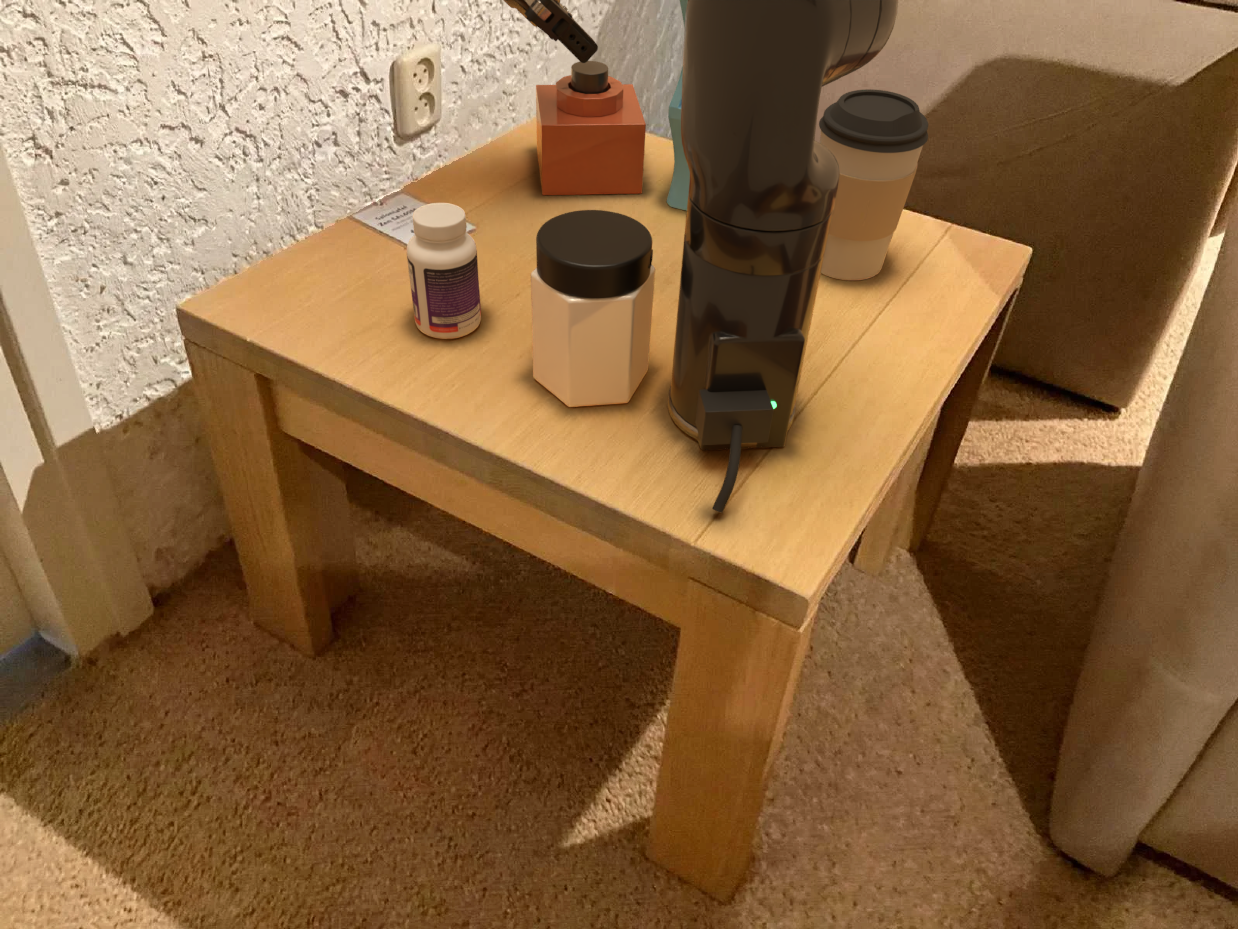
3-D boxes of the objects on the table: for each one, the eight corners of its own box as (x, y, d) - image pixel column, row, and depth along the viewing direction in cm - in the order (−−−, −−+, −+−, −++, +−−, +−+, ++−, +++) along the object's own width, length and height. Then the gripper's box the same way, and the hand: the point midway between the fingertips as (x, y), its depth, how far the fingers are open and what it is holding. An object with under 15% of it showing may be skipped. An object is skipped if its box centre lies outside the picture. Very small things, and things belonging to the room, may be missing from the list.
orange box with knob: (641, 193, 100) (647, 105, 94) (542, 195, 99) (541, 106, 93) (629, 150, 108) (633, 66, 102) (536, 151, 107) (535, 66, 101)
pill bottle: (494, 317, 83) (489, 210, 76) (453, 348, 79) (443, 238, 73) (443, 297, 85) (434, 190, 78) (401, 326, 81) (387, 217, 75)
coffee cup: (775, 256, 92) (801, 94, 82) (837, 227, 97) (869, 70, 87) (853, 298, 87) (890, 132, 77) (914, 265, 92) (957, 104, 82)
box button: (609, 96, 97) (610, 74, 95) (572, 96, 96) (572, 74, 95) (605, 82, 99) (606, 60, 98) (569, 82, 99) (569, 60, 97)
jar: (669, 384, 77) (681, 245, 69) (585, 424, 73) (588, 282, 65) (596, 331, 82) (600, 195, 74) (514, 366, 78) (509, 227, 70)
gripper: (498, -102, 79) (638, 47, 90) (468, -140, 88) (598, 0, 99) (436, -27, 81) (580, 110, 92) (413, -71, 90) (546, 58, 101)
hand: (589, 53), depth 95 cm, fingers closed
